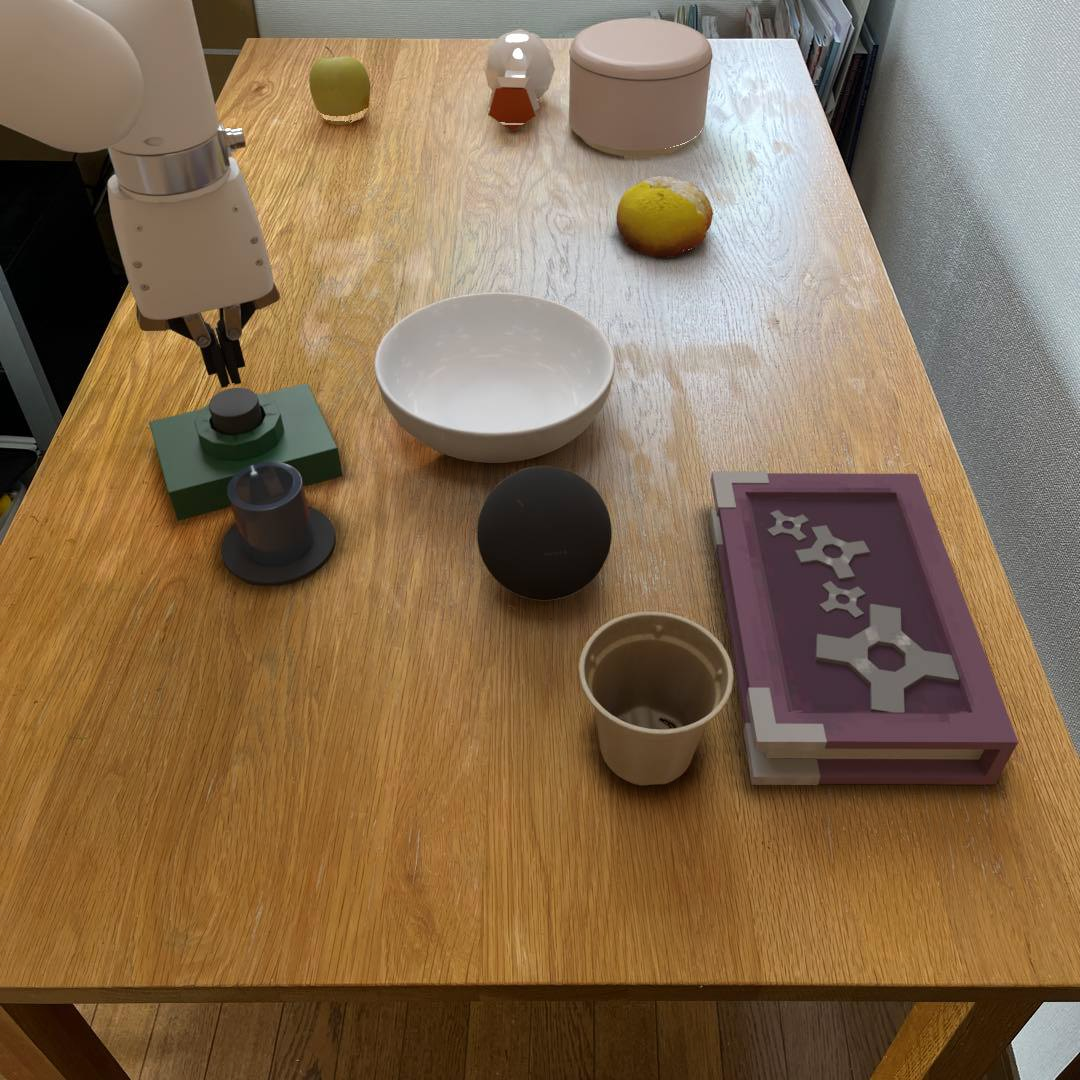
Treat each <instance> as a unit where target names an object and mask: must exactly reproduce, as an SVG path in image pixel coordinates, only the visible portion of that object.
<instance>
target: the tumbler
mask: <svg viewBox="0 0 1080 1080" xmlns="http://www.w3.org/2000/svg"><path fill="white" fill-rule="evenodd" d="M227 493H228V497H229V501H230V504H231V507H230V508H231V511H232V515H233V518H234V522H236V525H237V528H238V532H239V535H240V539H241V542H242V545H243V549H244V552H245V554H246V555H247V557H248V558H249V559H251V560H252V561H253V562H255V563H258V564H260V565H265V566H280V565H285V564H289V563H292V562H294V561H296V560H298V559H300V558H301V557H303V556H304V555H305V554H306V553H307V552H308V551H309V550H310V548H311V547H312V545H313V542H314V532H313V527H312V523H311V518H310V513H309V509H308V506H309V505H308V500H307V496H306V490H305V486H303V481H302V477H301V475H300V473H299V472H298V471H297V470H296V469H295V468H294V467H292V466H290V465H288V464H285V463H281V462H262V463H257V464H254V465H251V466H249V467H246V468H245V469H243V470H241V471H240V472H238V473H237V474H236V475H235V476H234V477H233V478H232V479H231V481H230V483H229V485H228V490H227Z"/></svg>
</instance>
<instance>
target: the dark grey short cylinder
mask: <svg viewBox="0 0 1080 1080" xmlns="http://www.w3.org/2000/svg"><path fill="white" fill-rule="evenodd" d="M256 394H257V393H256V392H254V391H253V390H251V389H249V388H245V387H231V388H227V389H223V390H221V391H219V392H217V393H216V394H214V395H213V396H212V397H211V398H210V400H209V403H208V404H209V410H210V413H211V417H212V420H213V424H214V427H215V429H216V430H217V431H218V432H220V433H221V434H224V435H235V436H236V435H240V434H244V433H248V432H251V431H253V430H254V429H256V428H257V427H258V426H259V425H260V424H261V422H262V413H261V409H260V405H259V400H258V397H257V395H256Z"/></svg>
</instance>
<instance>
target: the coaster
mask: <svg viewBox="0 0 1080 1080" xmlns="http://www.w3.org/2000/svg"><path fill="white" fill-rule="evenodd" d="M308 509H309V513H310V518H311V523H312V527H313V532H314V542H313V545H312V547H311V548H310V550H309V551H308V552H307V553H306V554H305V555H304V556H303V557H301V558H300V559H298V560H296V561H294V562H292V563H289V564H285V565H280V566H265V565H260V564H258V563H255V562H253V561H252V560H251V559H249V558H248V557H247V555H246V554H245V552H244V549H243V545H242V542H241V539H240V535H239V532H238V528H237V525H236V521H234V523H233V524H232V525H231V526H230V527H229V529H228V530H227V531H226V533H225V535H224V536H223V539H222V542H221V546H220V554H221V559H222V562H223V565H224V566H225V568H226V569H227V570H228V572H229V573H230V574H231V575H232V576H233V577H235V578H237V579H238V580H241V581H242V582H245V583H247V584H251V585H254V586H262V587H263V586H264V587H273V586H282V585H287V584H291V583H295V582H298V581H301V580H303V579H304V578H307V577H309V576H311V575H313V574H314V573H315V572H317V571H318V570H319V569H321V568H322V567H323V566H324V565H325V564H326V563H327V561H328V560H329V559H330V557H331V556H332V554H333V552H334V549H335V546H336V539H337V538H336V531H335V528H334V525H333V523H332V521H331V520H330V519H329V517H328V516H326V515H325V514H324V513H323V512H321V511H320V510H319V509H317V508H314V507H312V506H309V505H308Z"/></svg>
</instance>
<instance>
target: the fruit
mask: <svg viewBox="0 0 1080 1080" xmlns="http://www.w3.org/2000/svg"><path fill="white" fill-rule="evenodd" d="M616 209H617V210H616V226H617V228H618V229H617V230H618V233H619V235H620V237H622V240H623V242H624V244H626V245H627V247H628V248H629V249H630V250H632V251H633V252H635V253H637V254H639V255H643V256H648V257H653V258H659V259H660V258H663V259H667V258H676V257H680V256H682V255H686V254H688V253H689V254H690V253H691V252H692V251H693V250H695V248H696V247H697V246H699V245H700V244H701V242H703V241H704V240H705V238H706V237H707V234H706V233H707V231H709V229H710V228H711V225H712V221H713V218H714V217H713V216H714V210H713V207H712V204H711V202H710V199H709V198H708V196H707V195H706V193H705V192H703V191H702V190H701V189H700V188H699V187H698V185H696V184H695V183H693V182H690V181H689V182H688V181H686V180H679V179H677V178H675V177H671V176H669V175H667V176H661V175H657V176H651V177H647V178H645V179H643V180H641V181H640V183H636V184H635V185H633V186H631V187H630V188H629V189H628V190H626V191H625V192H624V193H623V194H622V197H621V198H620V200H619V202H618V205H617V208H616ZM695 246H696V247H695ZM691 248H692V249H691ZM688 249H690V250H688ZM683 250H684V251H683Z"/></svg>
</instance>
